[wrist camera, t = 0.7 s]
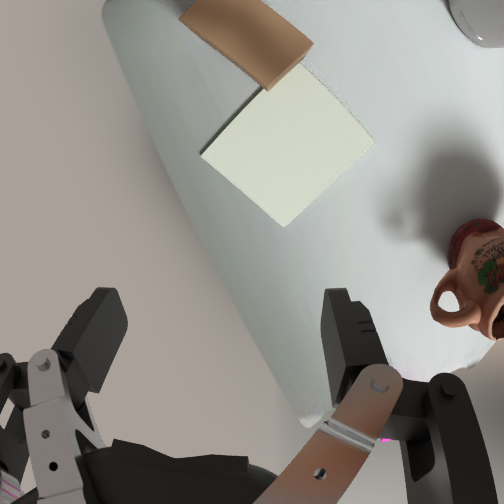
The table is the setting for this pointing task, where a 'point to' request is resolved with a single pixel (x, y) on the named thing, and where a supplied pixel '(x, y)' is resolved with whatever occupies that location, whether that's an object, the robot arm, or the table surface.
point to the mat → (289, 145)
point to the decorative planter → (475, 279)
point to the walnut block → (249, 37)
